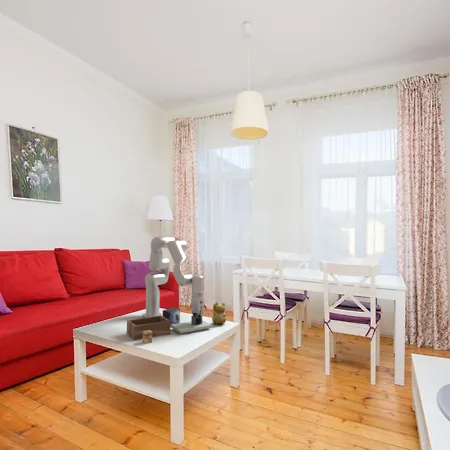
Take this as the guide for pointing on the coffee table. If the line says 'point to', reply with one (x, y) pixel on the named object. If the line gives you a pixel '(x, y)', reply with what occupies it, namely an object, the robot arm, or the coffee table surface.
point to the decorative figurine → (219, 313)
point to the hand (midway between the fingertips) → (196, 323)
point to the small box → (172, 315)
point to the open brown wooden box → (148, 327)
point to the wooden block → (147, 336)
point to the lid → (190, 325)
